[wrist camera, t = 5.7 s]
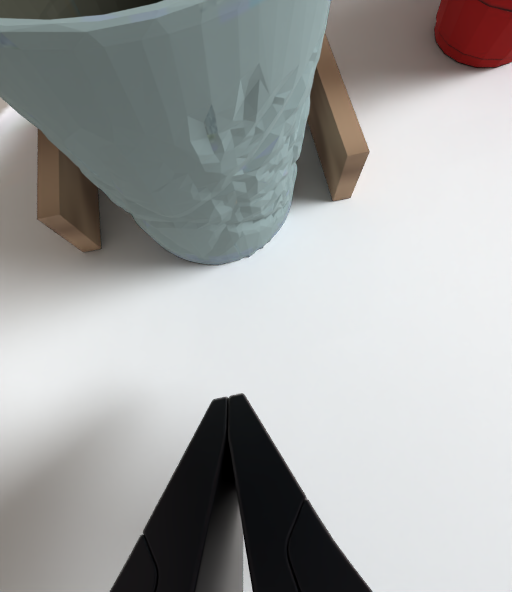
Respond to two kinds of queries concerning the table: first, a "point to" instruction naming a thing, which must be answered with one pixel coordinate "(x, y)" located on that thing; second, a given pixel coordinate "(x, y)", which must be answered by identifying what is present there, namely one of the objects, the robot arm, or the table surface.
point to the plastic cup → (475, 31)
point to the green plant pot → (173, 107)
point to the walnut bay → (323, 125)
